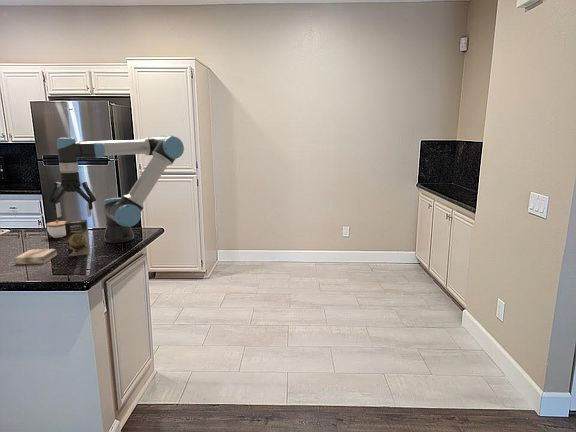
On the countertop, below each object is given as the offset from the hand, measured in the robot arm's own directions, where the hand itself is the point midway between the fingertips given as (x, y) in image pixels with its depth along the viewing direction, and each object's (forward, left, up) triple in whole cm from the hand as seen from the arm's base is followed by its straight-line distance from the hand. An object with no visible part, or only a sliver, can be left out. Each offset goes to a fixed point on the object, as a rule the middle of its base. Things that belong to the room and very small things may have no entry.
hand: (74, 216), depth 182 cm
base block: (+16, +7, -18) cm, 25 cm away
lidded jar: (+25, -34, -19) cm, 46 cm away
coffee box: (0, 0, -19) cm, 19 cm away
